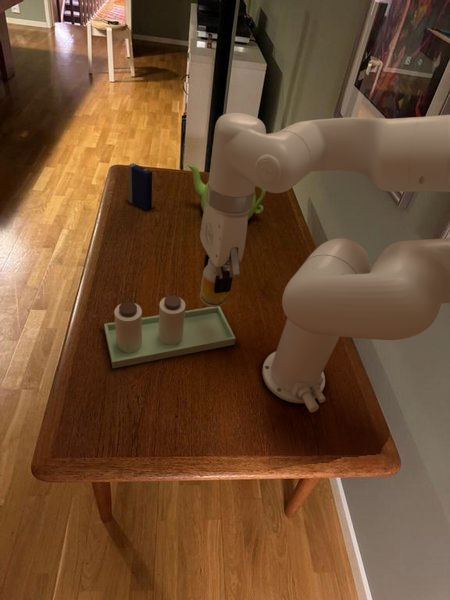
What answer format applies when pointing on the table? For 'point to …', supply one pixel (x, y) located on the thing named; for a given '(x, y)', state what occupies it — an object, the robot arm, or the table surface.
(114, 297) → the table surface
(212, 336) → the caddy
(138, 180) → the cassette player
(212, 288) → the supplement bottle
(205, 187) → the teapot
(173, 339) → the matching bottles
